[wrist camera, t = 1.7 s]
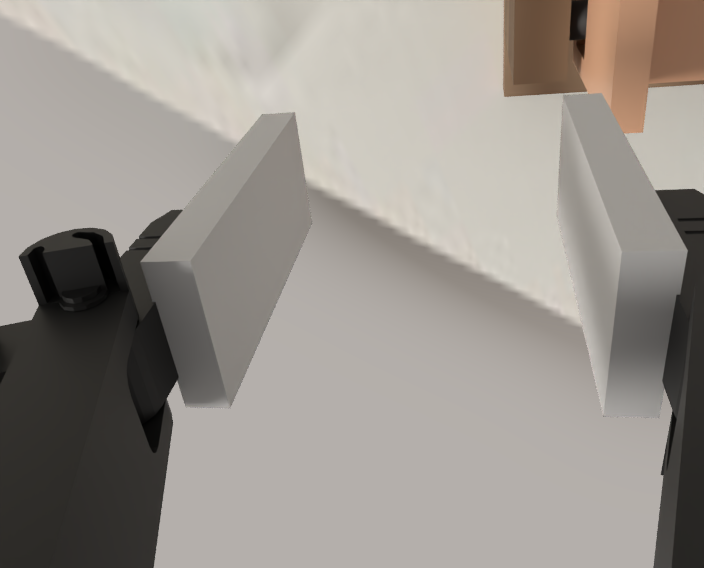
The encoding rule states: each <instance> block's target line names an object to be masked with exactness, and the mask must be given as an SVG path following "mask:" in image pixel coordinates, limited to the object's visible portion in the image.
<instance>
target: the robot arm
mask: <svg viewBox="0 0 704 568" xmlns="http://www.w3.org/2000/svg"><path fill="white" fill-rule="evenodd" d="M557 219H558V223H559V228H560V232H561V236H562V241H563V245H564V249H565V254H566V258H567V262H568V266H569V271H570V275H571V279H572V284H573V288H574V292H575V297H576V301H577V305H578V309H579V314H580V318H581V322H582V327H583V331H584V335H585V340H586V344H587V348H588V352H589V357H590V361H591V365H592V370H593V374H594V378H595V383H596V387H597V391H598V395H599V400H600V404H601V408H602V413H603V416H604V417H644V418H659V417H660V410H661V405H662V398H663V393H664V388H665V390H666V393H667V396H668V399H669V401H670V404H671V407H672V410H673V411H672V416H671V422H670V427H669V433H668V438H667V444H666V449H665V455H664V460H663V466H662V471H661V475H664V476H663V486H662V496H661V504H660V513H659V522H658V531H657V541H656V550H655V559H654V568H704V194H702V193H701V192H699V191H697V190H695V189H680V190H654V188H653V186H652V184H651V182H650V181H649V179H648V177H647V175H646V173H645V171H644V170H643V168H642V166H641V164H640V162H639V160H638V159H637V157H636V155H635V153H634V151H633V149H632V148H631V146H630V144H629V142H628V140H627V138H626V137H625V135H624V133H623V131H622V129H621V127H620V126H619V124H618V122H617V120H616V118H615V116H614V115H613V113H612V111H611V109H610V107H609V105H608V104H607V102H606V100H605V98H604V96H603V94H602V93H595V94H579V95H563V104H562V123H561V142H560V161H559V180H558V199H557ZM311 225H312V219H311V212H310V206H309V200H308V193H307V187H306V180H305V174H304V168H303V161H302V155H301V148H300V142H299V136H298V129H297V123H296V116H295V112H293V113H278V114H262V115H261V116H260V118H259V119H258V120H257V121H256V122H255V124H254V125H253V126H252V127H251V128H250V130H249V131H248V132H247V133H246V134H245V136H244V137H243V138H242V139H241V141H240V142H239V143H238V144H237V145H236V147H235V148H234V149H233V150H232V151H231V153H230V154H229V155H228V156H227V157H226V159H225V160H224V161H223V162H222V164H221V165H220V166H219V167H218V168H217V170H216V171H215V172H214V173H213V175H212V176H211V177H210V178H209V179H208V180H207V182H206V183H205V184H204V185H203V187H202V188H201V189H200V190H199V191H198V193H197V194H196V195H195V196H194V197H193V199H192V200H191V201H190V202H189V203H188V205H187V206H186V207H185V208H184V210H171V211H170V212H168V213H166V214H165V215H163V216H161V217H160V218H158V219H156V220H155V221H153V222H152V223H150V225H149V226H148V227H147V228H146V229H145V230H144V231H143V233H142V234H141V235H140V236H139V239H136V240H135V242H134V243H133V244H132V245H131V246H130V247H129V251H126V252H125V253H124V254H123V255H122V256H121V257H120V256H119V253H118V250H117V247H116V245H115V242H114V238H113V236H112V234H111V233H109V232H108V231H106V230H104V229H97V228H83V229H74V230H69V231H65V232H61V233H57V234H55V235H52V236H49V237H47V238H44V239H42V240H40V241H38V242H36V243H35V244H33V245H31V246H30V247H28V248H27V249H26V250H25V251H24V252H23V253H22V254H21V255H20V256H19V259H20V261H21V263H22V266H23V268H24V270H25V273H26V275H27V278H28V280H29V283H30V285H31V287H32V290H33V292H34V295H35V297H36V299H37V302H38V304H39V307H38V309H37V311H36V313H35V315H34V317H33V319H32V320H30V321H25V322H20V323H15V324H9V325H5V326H0V568H153V567H154V560H155V553H156V545H157V537H158V530H159V523H160V515H161V508H162V501H163V492H164V485H165V478H166V471H167V464H168V456H169V448H170V441H171V434H172V426H173V420H172V414H171V410H170V407H169V405H168V401H167V397H168V395H169V393H170V392H171V390H172V388H173V386H174V385H175V383H176V381H178V384H179V387H180V390H181V393H182V397H183V400H184V403H185V406H186V407H190V408H230V407H231V405H232V403H233V401H234V398H235V396H236V394H237V391H238V389H239V387H240V385H241V383H242V380H243V378H244V376H245V374H246V371H247V369H248V367H249V365H250V362H251V360H252V358H253V356H254V353H255V351H256V349H257V346H258V344H259V342H260V340H261V337H262V335H263V333H264V331H265V328H266V326H267V324H268V322H269V319H270V317H271V315H272V312H273V310H274V308H275V306H276V303H277V301H278V299H279V297H280V295H281V292H282V290H283V288H284V286H285V283H286V281H287V279H288V276H289V274H290V272H291V270H292V267H293V265H294V263H295V261H296V258H297V256H298V254H299V251H300V249H301V247H302V244H303V243H304V240H305V238H306V236H307V234H308V231H309V229H310V227H311Z"/></svg>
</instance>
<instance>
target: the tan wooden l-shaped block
mask: <svg viewBox="0 0 704 568" xmlns="http://www.w3.org/2000/svg"><path fill="white" fill-rule="evenodd" d="M576 1H577V0H576ZM572 61H573V63H574V65H575V67H576V69H577V71H578V73H579V75H580V77H581V79H582V81H583V83H584V85H585V87H586V89H587V92H588V94H595V93H602V94H603V96H604V98H605V100H606V102H607V104H608V105H609V107H610V109H611V111H612V113H613V115H614V116H615V118H616V120H617V122H618V124H619V126H620V127H621V129H622V131H623V133H641V132H643V127H644V119H645V110H646V102H647V93H648V85H649V84H652V83H667V82H683V81H698V80H704V0H588V11H587V26H586V39H582V40H574V42H573V59H572Z"/></svg>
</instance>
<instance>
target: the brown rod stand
mask: <svg viewBox="0 0 704 568" xmlns="http://www.w3.org/2000/svg"><path fill="white" fill-rule="evenodd" d="M587 11H588V0H577V1H576V0H504V78H503V89H504V97H509V96H524V95H540V94H556V93H571V92H587V89H586V87H585V85H584V83H583V81H582V79H581V77H580V75H579V73H578V71H577V69H576V67H575V65H574V63H573V61H572V59H573V42H574V40H582V39H586V26H587ZM697 84H704V80H698V81H683V82H667V83H652V84H649V85H648V88H650V87H666V86H681V85H697Z"/></svg>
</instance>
